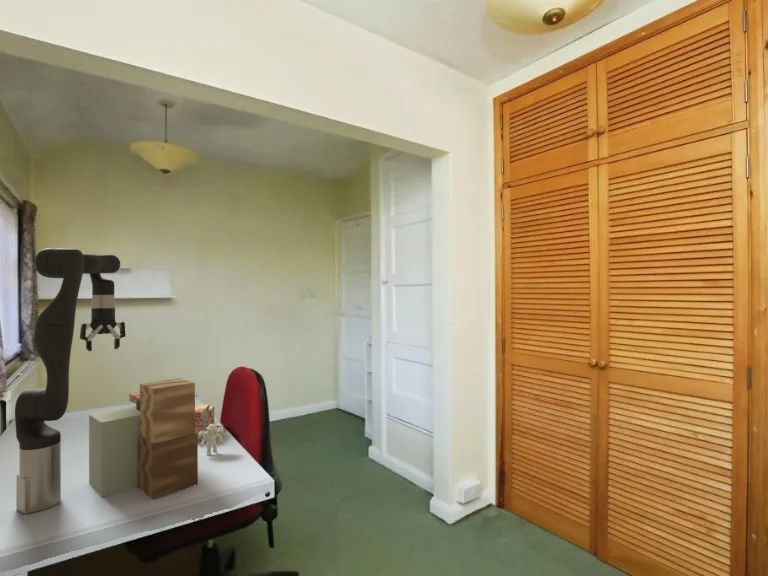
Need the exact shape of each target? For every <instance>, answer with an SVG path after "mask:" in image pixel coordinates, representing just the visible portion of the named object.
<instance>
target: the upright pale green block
mask: <svg viewBox="0 0 768 576" xmlns="http://www.w3.org/2000/svg"><path fill="white" fill-rule="evenodd" d="M138 435H140V411H139V410H137V409H136V405H132V406H127V407H122V408H121V407H120V408H117V409H109V410H106V411H99V412H93V413H89V414H88V483H89V486H91V487H92V488H93V489H94V491H96V492H97V493H96V494H98V495H99V496H100V497H101V498H102V497H106V496H108V495H112V494H116V493H118V492H121V491H125V490H128V489H131V488H134V487H138Z"/></svg>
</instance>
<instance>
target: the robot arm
mask: <svg viewBox="0 0 768 576" xmlns="http://www.w3.org/2000/svg"><path fill="white" fill-rule="evenodd" d="M34 261H35V262H34V266H35V269H36V271H37V273H38V274H39V275H41V276H42V277H44V278H48V279H62V283H61V285H60V289H59V290H58V293H57V294H56V296H55V297H54V298H53V299H52V301H50V303H48V305H47V306H46V307H45V308H44V309H43V310H42V311H41V313H40V314H39V315H38V316H37V319H36V321H35V327H34V333H33V339H32V340H33V345H34V348H35V351H36V352H37V354H38V356H39V358H40V359H41V361H42V363H43V364H44V367H45V371H46V387H44V388H43V387H41V388H38V387H37V388H28V389H25V390H23V391H22V392H21V393H19V395H18V397H17V398H16V399H17V400H16V401H15V404H14V419H15V420H14V421H15V437H16V440H17V441H18V445H19V447H18V448H19V449H18V450H19V455H18V456H19V457H18V458H19V459H18V460H19V463H18V465H19V467H18V468H19V474H16V481H15V483H16V484H15V485H16V491H15V492H16V494H15V495H16V503H15V504H16V505H15V506H16V510H17V511H19V512H20V513H22V514H23V515H27V514H29V513H35V512H39V511H40V512H41V511H44V510H46V509H49V508H51V507H54V506H56V505H58V504H59V503H60V502H61V499H62V485H61V484H62V480H61V479H62V474H61V473H62V472H61V471H62V470H61V469H62V465H61V464H62V461H61V460H62V458H61V457H62V455H61V453H62V442H61V441H62V436H61V432H60V430H58V429H55V428H52V427H51V426H50V425H48V424H47V423H45V422H53V421H58V420H60V419H61V418H62V417H63V416H64V415H65V413H66V411H67V408H68V404H69V396H70V395H69V392H70V361H71V355H72V345H73V341H74V332H75V323H76V321H75V320H76V310H77V303H78V299H79V298H78V297H79V292H80V288H81V283H82V279H83V274H87V275H88V274H89V278H90V282H91V286H92V287H91V290H92V292H91V293H92V294H91V296H92V297H91V301H90V302H91V304H90V307H91V310H90V311H91V312H90V313H91V314H90V315H91V317H90V319H91V320H90V321H91V322H90V323H85V322H83V323H81V324H80V331H79V340H83V341H85V349H86V350H87V351H88V352H92V349H93V348H92V347H93V346H92V345H93V344H92V343H93V341H92V340H93V339H94V338H95V337H96V335H107V334H110V335H112V337H113V338H114V340H113V345H114V347H113V348H114V350H119V348H120V346H121V341H120V340H121V339H122V338H125V337H126V324H125V321H119V322H116V297H115V281H113V280H112V279H108V278H103V277H102V275H101V274H115V273H117V272H118V271H119V270H120V268H121V261H120V258H119V257H117V256H116V255H114V254H96V253H95V254H94V253H83V252H82V251H81V250H80V249H76V248H61V247H60V248H59V247H56V248H55V247H49V248H44V249H41V250H40V251H39V252H37V254H36V256H35V260H34ZM116 326H117V328H119V334H118V332H117V331H116V330H115V328H116ZM89 327H90V328H91V329H92V330H91V332H90V333H89V334H88V336H86V334H87V330H88V329H89Z"/></svg>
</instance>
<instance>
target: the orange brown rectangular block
mask: <svg viewBox="0 0 768 576" xmlns="http://www.w3.org/2000/svg"><path fill="white" fill-rule="evenodd" d="M128 401H129V402H131V403H133V404H135V406H136V409H137V410H139V411H140V391H139V392H132V393H129V394H128Z"/></svg>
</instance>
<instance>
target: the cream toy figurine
mask: <svg viewBox="0 0 768 576" xmlns="http://www.w3.org/2000/svg"><path fill="white" fill-rule="evenodd" d="M218 422H219V420H218V419H217V420H216V421H214V424H209V426H208V427H207V429H208V430H207V432H206V433H205V431H200V433H199V436H201V437H202V436H204V437H202V438H203V439H202V441H200V442H201V443H200V448H203V445H204V446H205V445H206V448H207V449H206V453H205V455H206V454H207V455H211V456H212V452H213V453H218V454H219V452H218V446H217V438H218V439H219V440H218V443H220V442H221V444H223V443H224V439H223V437H222V435H223V434H224V433H225V432H224V427H221V426H219V427H217V426H216V425H217V424H218ZM199 438H200V437H199ZM205 442H207V443H205ZM207 455H206V456H207Z"/></svg>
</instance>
